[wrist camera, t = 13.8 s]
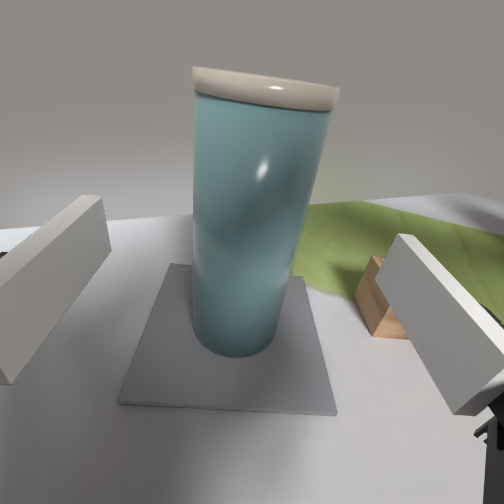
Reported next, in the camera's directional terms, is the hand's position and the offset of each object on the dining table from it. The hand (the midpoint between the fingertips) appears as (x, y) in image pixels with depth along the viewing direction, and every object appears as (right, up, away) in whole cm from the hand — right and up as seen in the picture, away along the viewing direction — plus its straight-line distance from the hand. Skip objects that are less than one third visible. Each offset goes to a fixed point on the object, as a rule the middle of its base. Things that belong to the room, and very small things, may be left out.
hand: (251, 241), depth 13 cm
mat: (-2, -8, +14) cm, 16 cm away
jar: (-2, -7, +14) cm, 16 cm away
